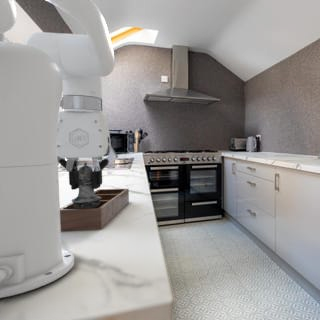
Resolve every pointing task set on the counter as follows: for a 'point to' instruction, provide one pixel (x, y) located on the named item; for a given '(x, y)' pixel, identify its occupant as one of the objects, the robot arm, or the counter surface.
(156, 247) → the counter surface
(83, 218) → the divided wooden tray
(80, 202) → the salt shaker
